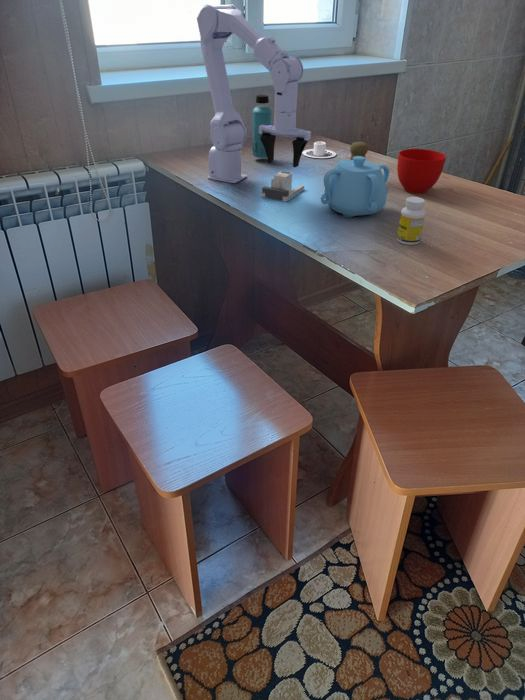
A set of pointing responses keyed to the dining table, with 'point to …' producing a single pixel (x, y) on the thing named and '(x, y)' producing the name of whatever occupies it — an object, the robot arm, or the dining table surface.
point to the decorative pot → (356, 187)
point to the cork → (358, 149)
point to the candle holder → (319, 150)
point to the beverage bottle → (260, 117)
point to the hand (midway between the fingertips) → (283, 164)
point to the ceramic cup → (419, 169)
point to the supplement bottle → (411, 221)
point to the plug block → (283, 177)
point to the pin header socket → (280, 191)
